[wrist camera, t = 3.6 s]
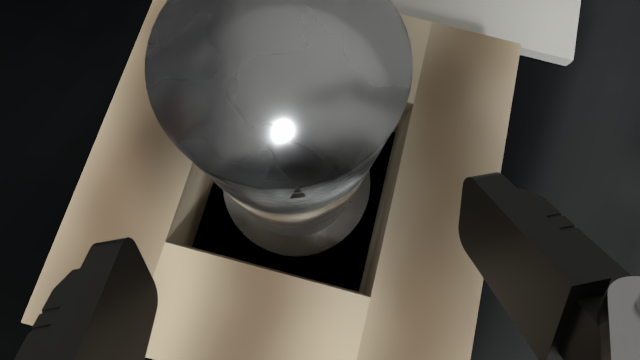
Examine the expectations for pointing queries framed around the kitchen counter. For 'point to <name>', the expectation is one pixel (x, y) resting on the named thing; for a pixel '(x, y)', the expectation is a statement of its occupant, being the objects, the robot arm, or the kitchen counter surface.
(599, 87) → the kitchen counter surface
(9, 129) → the kitchen counter surface
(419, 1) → the grey rubber pad
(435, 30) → the frame
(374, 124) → the steel plug
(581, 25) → the kitchen counter surface
